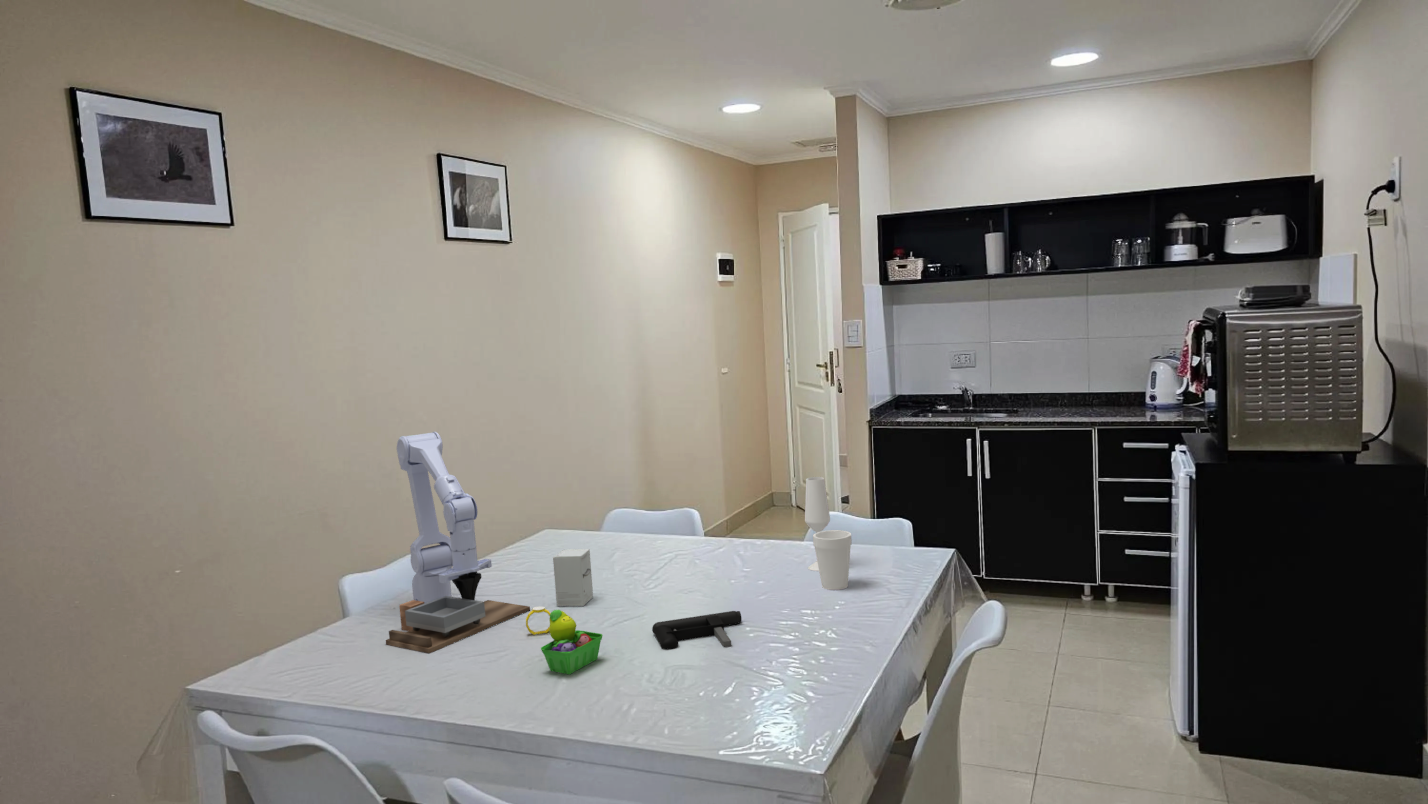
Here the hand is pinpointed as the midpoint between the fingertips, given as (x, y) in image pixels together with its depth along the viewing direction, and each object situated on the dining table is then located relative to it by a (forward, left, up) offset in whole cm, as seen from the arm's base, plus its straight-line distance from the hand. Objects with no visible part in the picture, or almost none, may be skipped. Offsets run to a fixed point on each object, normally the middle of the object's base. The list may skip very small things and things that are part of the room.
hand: (469, 604), depth 221 cm
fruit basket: (+41, -11, -5) cm, 43 cm away
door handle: (+58, +13, -5) cm, 59 cm away
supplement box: (+13, +22, -5) cm, 26 cm away
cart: (0, -7, -3) cm, 8 cm away
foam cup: (+68, +56, -5) cm, 89 cm away
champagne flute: (+57, +70, -5) cm, 91 cm away
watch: (+21, +1, -5) cm, 22 cm away
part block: (-11, -8, -4) cm, 14 cm away
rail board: (0, -3, -4) cm, 5 cm away
